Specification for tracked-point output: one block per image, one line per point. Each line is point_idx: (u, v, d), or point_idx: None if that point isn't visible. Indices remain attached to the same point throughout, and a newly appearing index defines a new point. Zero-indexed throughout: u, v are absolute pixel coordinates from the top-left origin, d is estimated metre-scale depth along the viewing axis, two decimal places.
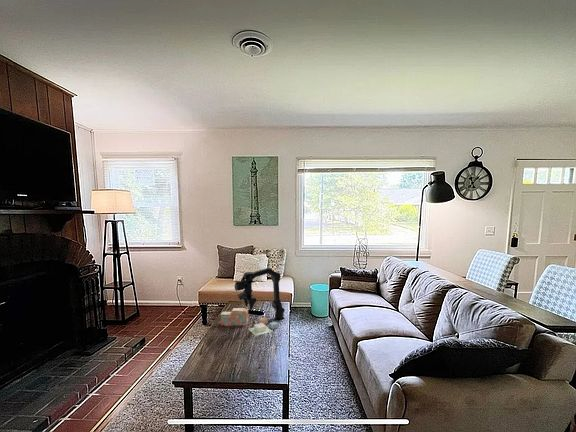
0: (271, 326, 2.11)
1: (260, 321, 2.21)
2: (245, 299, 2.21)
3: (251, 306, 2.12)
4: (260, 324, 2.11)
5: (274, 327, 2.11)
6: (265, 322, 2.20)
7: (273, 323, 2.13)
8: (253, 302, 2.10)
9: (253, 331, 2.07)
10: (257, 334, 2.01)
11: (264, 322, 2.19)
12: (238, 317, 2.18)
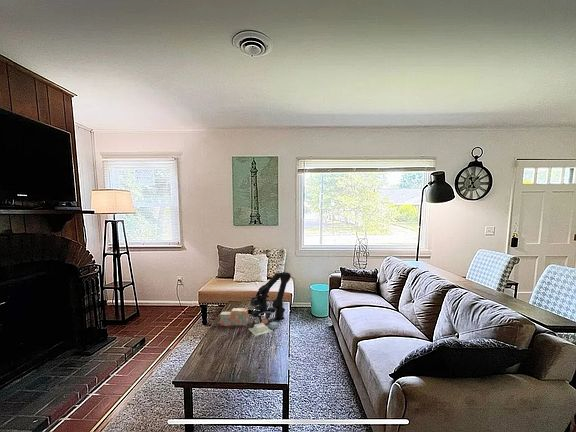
0: (271, 326, 2.11)
1: None
2: (266, 314, 2.24)
3: (259, 319, 2.20)
4: (260, 324, 2.11)
5: (274, 327, 2.11)
6: (265, 322, 2.20)
7: (273, 323, 2.13)
8: None
9: (253, 331, 2.07)
10: (257, 334, 2.01)
11: (264, 322, 2.19)
12: (238, 317, 2.18)
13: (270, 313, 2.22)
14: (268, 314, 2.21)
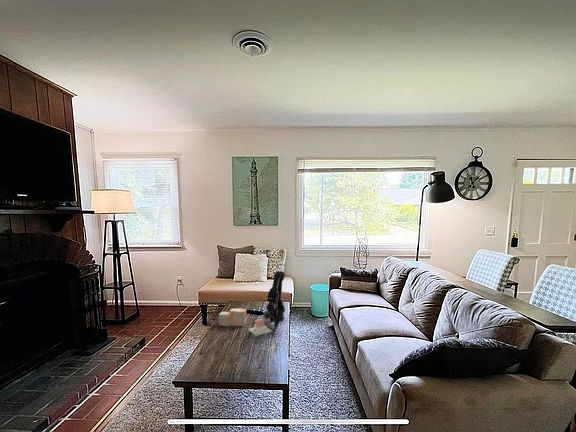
0: (271, 326, 2.11)
1: (256, 322, 2.08)
2: (271, 318, 2.15)
3: (276, 324, 2.10)
4: None
5: (274, 327, 2.11)
6: (262, 323, 2.07)
7: (273, 323, 2.13)
8: None
9: (253, 331, 2.07)
10: (257, 334, 2.01)
11: (260, 323, 2.07)
12: (236, 317, 2.17)
13: None
14: None
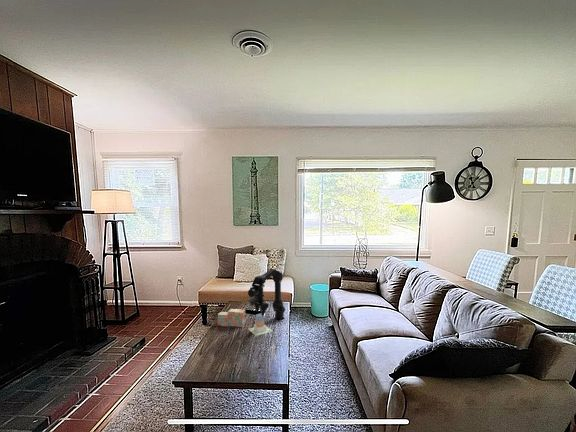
0: (257, 318, 2.07)
1: (256, 322, 2.08)
2: (256, 304, 2.13)
3: (263, 312, 2.04)
4: None
5: (260, 319, 2.06)
6: (262, 323, 2.07)
7: (259, 315, 2.09)
8: (265, 307, 2.02)
9: (253, 331, 2.07)
10: (257, 334, 2.01)
11: (260, 323, 2.07)
12: (234, 318, 2.16)
13: None
14: None
